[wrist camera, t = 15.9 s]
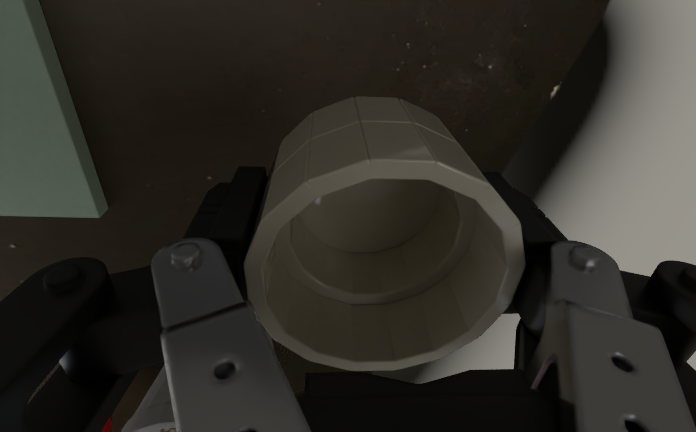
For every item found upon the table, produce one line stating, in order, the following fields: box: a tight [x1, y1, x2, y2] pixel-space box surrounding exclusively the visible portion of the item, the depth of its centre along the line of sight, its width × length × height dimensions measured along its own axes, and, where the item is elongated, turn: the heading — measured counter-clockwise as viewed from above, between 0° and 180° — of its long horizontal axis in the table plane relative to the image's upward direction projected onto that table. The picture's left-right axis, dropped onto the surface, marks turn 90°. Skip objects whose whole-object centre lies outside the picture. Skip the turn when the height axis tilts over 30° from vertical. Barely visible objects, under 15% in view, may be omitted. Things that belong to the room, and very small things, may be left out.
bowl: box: [243, 97, 526, 371], centre depth 10 cm, size 6×6×4 cm
